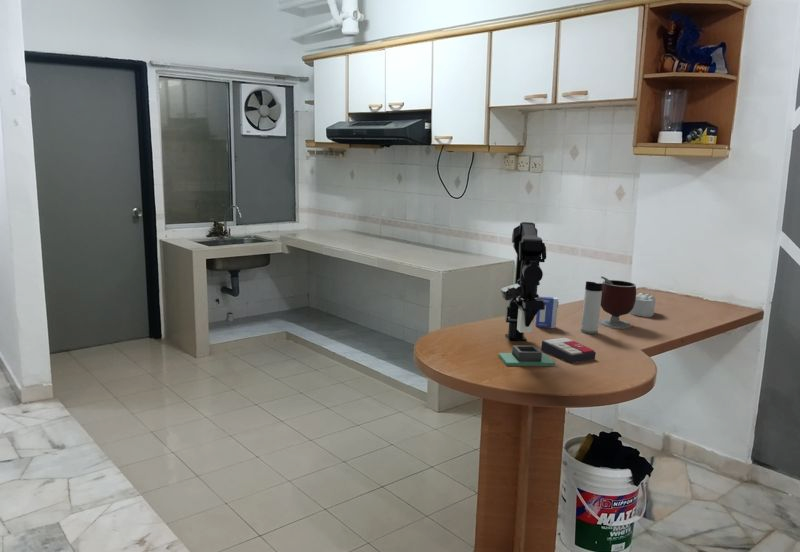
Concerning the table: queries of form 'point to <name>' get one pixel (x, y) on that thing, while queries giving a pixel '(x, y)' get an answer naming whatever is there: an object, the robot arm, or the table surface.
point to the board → (526, 357)
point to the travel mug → (591, 307)
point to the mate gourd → (617, 301)
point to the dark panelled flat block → (568, 350)
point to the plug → (523, 322)
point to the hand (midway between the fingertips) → (525, 324)
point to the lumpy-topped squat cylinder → (643, 305)
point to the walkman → (547, 313)
